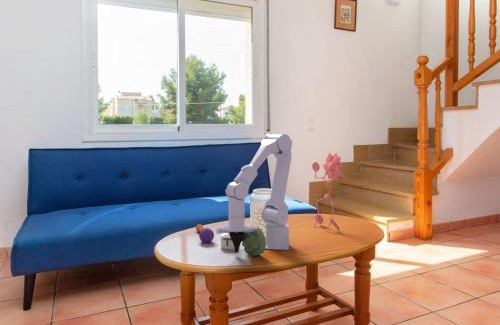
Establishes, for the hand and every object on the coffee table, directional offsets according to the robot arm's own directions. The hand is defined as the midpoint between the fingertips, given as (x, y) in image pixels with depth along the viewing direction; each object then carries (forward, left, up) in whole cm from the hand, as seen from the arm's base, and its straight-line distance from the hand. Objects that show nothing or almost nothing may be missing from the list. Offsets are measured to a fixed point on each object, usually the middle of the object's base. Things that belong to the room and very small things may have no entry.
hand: (236, 252), depth 136 cm
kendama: (+17, -22, -2) cm, 27 cm away
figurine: (-40, -42, -2) cm, 58 cm away
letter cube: (+4, -10, -2) cm, 11 cm away
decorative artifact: (-5, -1, -2) cm, 5 cm away
